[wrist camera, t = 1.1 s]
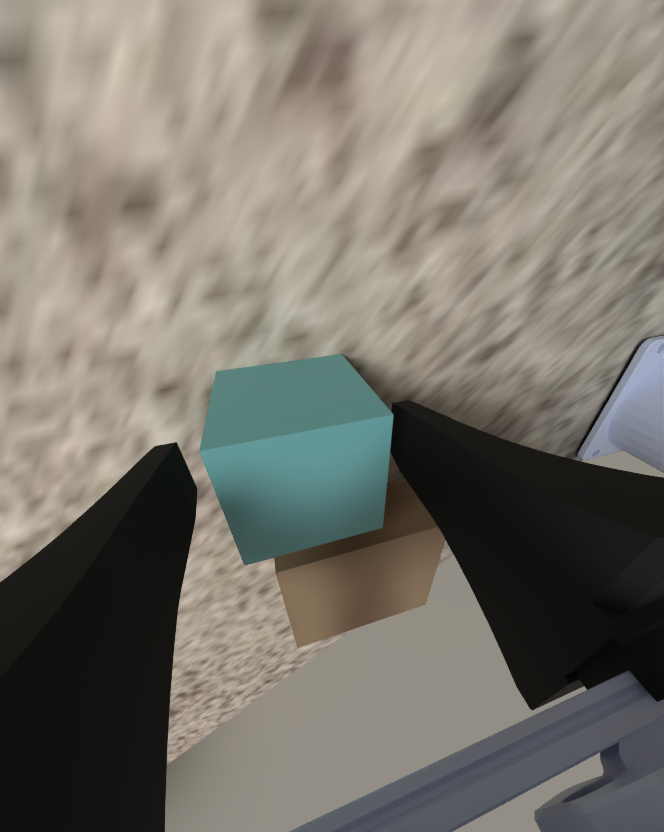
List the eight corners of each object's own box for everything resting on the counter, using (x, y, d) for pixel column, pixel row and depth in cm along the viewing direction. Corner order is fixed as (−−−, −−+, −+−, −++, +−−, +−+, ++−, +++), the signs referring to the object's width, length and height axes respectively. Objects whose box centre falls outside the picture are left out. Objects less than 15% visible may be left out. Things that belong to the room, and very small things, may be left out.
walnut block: (412, 471, 16) (450, 523, 13) (399, 552, 20) (425, 604, 17) (269, 505, 14) (275, 573, 11) (289, 584, 18) (297, 648, 16)
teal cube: (341, 353, 10) (393, 414, 7) (343, 446, 13) (382, 527, 9) (216, 370, 10) (199, 451, 6) (244, 466, 12) (244, 565, 8)
